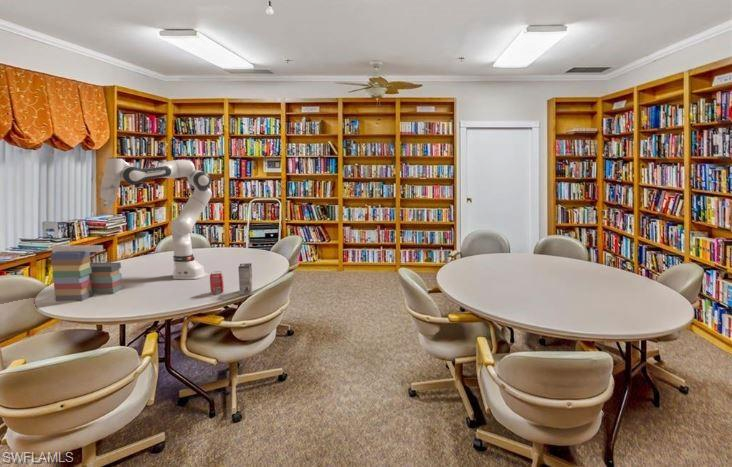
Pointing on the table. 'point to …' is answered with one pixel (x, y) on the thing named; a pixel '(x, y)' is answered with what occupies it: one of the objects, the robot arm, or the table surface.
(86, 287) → the tall book stack
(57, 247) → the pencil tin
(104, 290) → the short book stack
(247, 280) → the coffee box
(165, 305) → the table surface
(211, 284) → the soda can
